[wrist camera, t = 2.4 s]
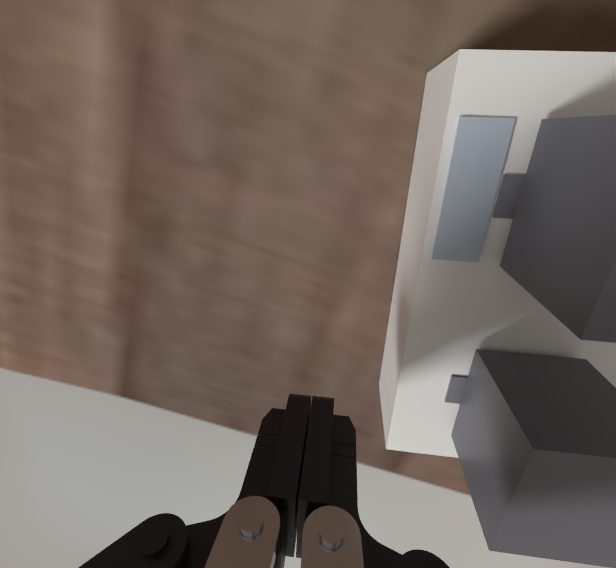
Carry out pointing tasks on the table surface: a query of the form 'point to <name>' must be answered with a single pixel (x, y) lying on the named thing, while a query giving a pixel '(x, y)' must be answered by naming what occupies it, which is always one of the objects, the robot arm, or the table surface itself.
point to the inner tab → (569, 225)
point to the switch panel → (476, 233)
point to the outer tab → (540, 455)
